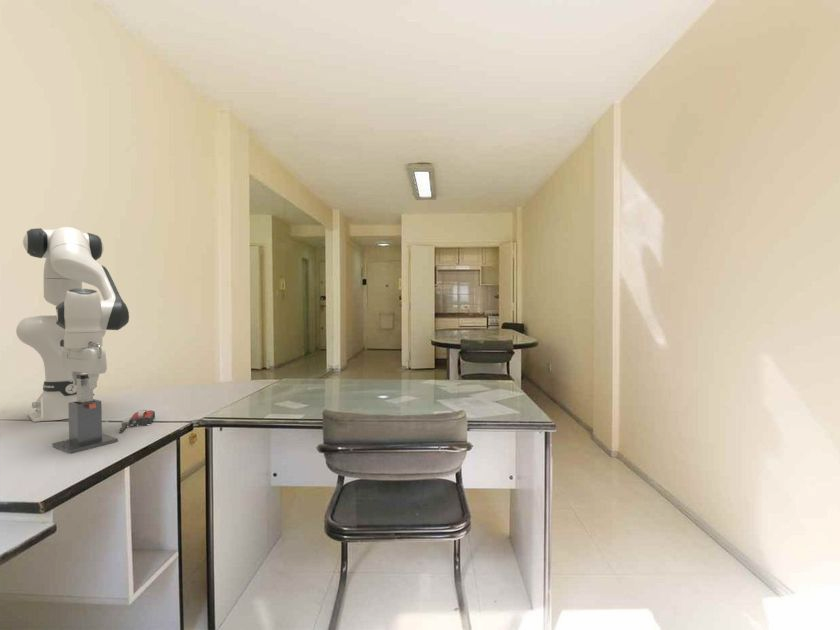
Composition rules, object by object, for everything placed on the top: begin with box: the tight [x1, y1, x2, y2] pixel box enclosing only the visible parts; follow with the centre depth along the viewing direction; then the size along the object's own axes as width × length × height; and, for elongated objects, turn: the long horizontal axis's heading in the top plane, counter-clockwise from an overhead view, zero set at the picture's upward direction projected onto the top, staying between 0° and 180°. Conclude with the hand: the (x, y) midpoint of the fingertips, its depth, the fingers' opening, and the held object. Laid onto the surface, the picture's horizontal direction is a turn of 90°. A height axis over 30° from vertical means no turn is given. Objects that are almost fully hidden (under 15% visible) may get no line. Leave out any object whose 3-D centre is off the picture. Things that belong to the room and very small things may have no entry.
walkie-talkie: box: [118, 409, 156, 432], centre depth 143 cm, size 9×4×20 cm
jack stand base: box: [51, 398, 119, 454], centre depth 122 cm, size 12×12×13 cm
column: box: [76, 373, 95, 404], centre depth 122 cm, size 3×4×20 cm
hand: (84, 386), depth 122 cm, fingers open, 8 cm apart
